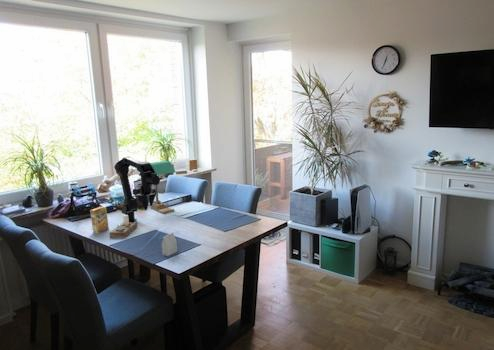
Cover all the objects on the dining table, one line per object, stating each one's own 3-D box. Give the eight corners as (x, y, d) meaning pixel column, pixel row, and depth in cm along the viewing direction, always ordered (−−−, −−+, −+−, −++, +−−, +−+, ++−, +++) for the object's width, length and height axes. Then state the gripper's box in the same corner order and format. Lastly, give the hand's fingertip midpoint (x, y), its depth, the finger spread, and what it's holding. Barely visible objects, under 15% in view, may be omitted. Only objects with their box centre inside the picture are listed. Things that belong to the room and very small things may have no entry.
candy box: (97, 235, 232) (94, 210, 229) (92, 234, 235) (89, 209, 232) (109, 230, 240) (106, 206, 237) (104, 229, 242) (101, 205, 239)
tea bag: (177, 251, 202) (175, 233, 200) (167, 256, 197) (166, 237, 195) (172, 250, 204) (170, 232, 202) (162, 254, 199) (161, 236, 197)
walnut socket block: (123, 228, 242) (122, 222, 241) (137, 228, 241) (136, 222, 240) (110, 239, 224) (109, 232, 224) (125, 239, 223) (124, 232, 223)
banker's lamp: (165, 205, 292) (161, 159, 285) (179, 210, 276) (176, 162, 270) (146, 209, 283) (141, 162, 276) (159, 215, 267) (155, 165, 260)
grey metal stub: (119, 233, 230) (118, 224, 228) (124, 233, 229) (123, 224, 228) (117, 235, 227) (116, 225, 226) (122, 235, 226) (121, 225, 225)
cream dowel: (125, 228, 238) (124, 214, 237) (130, 228, 238) (128, 214, 236) (123, 230, 236) (122, 216, 234) (128, 230, 235) (127, 216, 233)
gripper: (139, 180, 247) (141, 203, 251) (127, 186, 229) (130, 212, 232) (156, 179, 246) (158, 203, 249) (145, 186, 228) (148, 212, 231)
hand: (148, 207), depth 241 cm, fingers open, 9 cm apart
